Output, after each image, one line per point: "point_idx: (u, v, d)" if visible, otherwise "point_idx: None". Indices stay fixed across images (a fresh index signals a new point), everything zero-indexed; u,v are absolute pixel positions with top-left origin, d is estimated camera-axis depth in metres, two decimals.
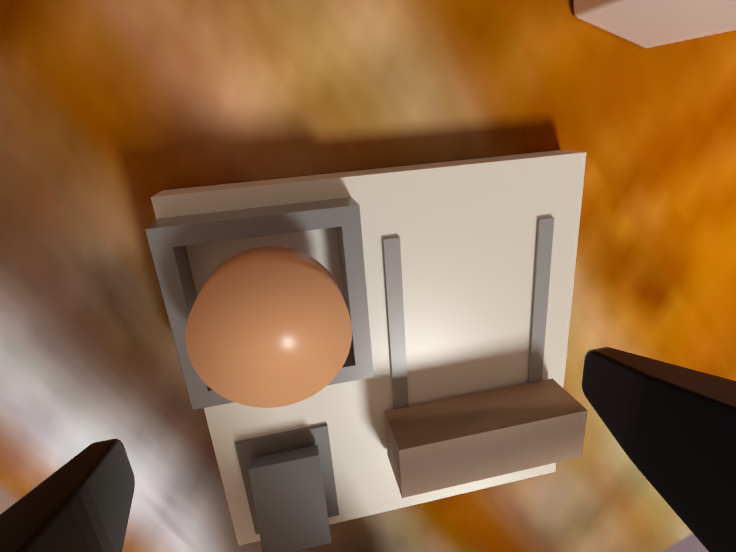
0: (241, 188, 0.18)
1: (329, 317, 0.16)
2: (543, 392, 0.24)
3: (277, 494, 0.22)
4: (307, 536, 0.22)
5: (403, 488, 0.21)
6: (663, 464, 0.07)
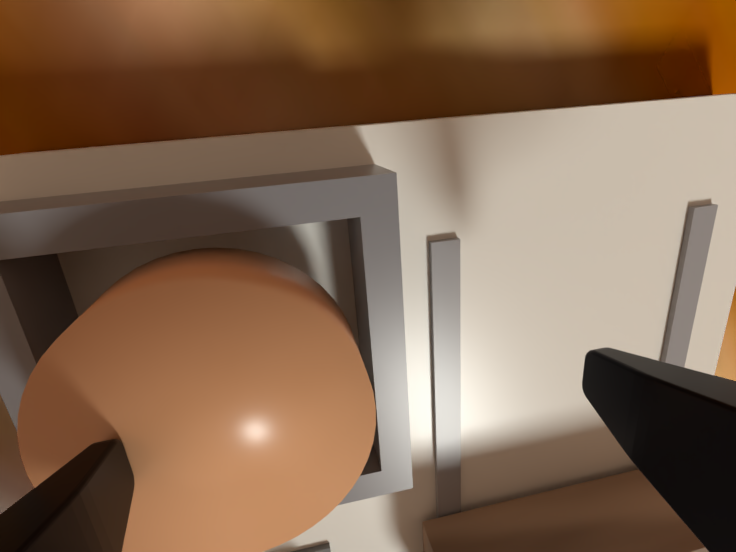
0: (163, 143, 0.09)
1: (331, 393, 0.08)
2: None
3: None
4: None
5: None
6: (663, 464, 0.07)
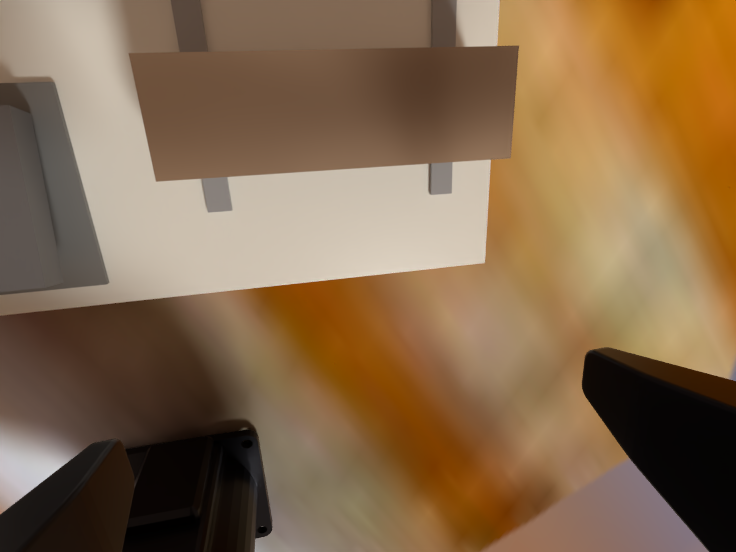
0: None
1: None
2: None
3: None
4: None
5: (155, 158, 0.11)
6: (663, 464, 0.07)
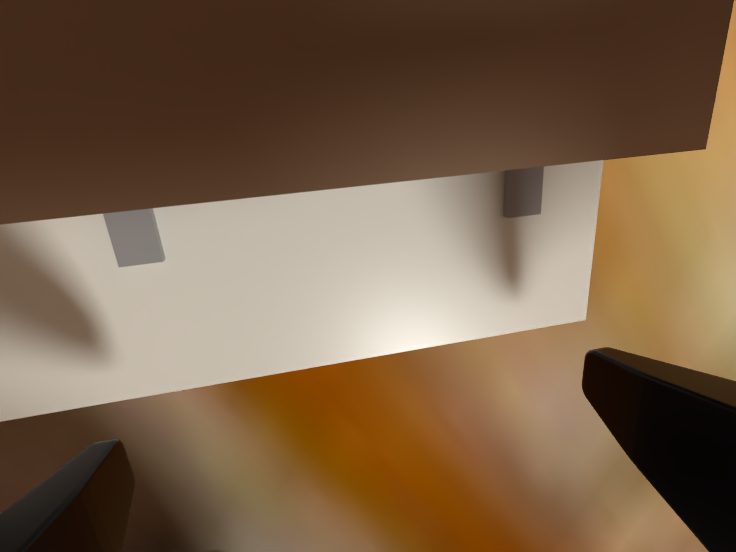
0: None
1: None
2: None
3: None
4: None
5: None
6: (663, 464, 0.07)
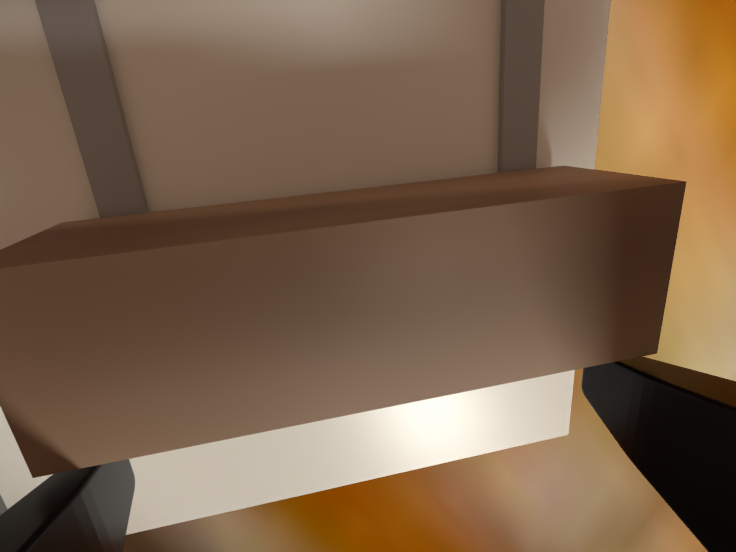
0: None
1: None
2: (539, 176, 0.08)
3: None
4: None
5: (26, 442, 0.06)
6: (663, 464, 0.07)
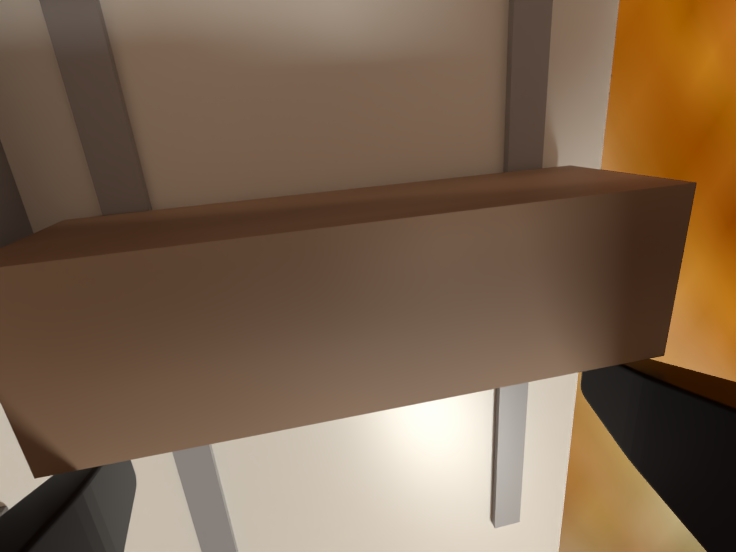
0: None
1: None
2: (546, 176, 0.08)
3: None
4: None
5: (28, 442, 0.06)
6: (661, 464, 0.07)
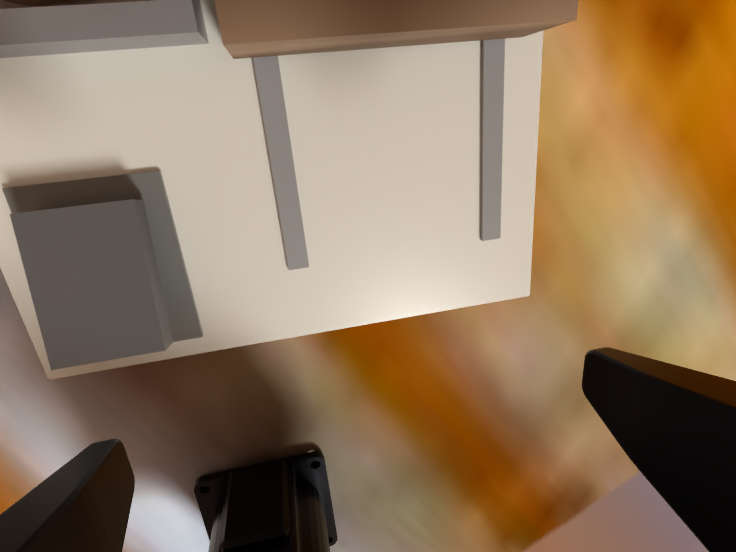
0: None
1: None
2: None
3: (65, 261, 0.13)
4: (123, 337, 0.14)
5: (222, 17, 0.11)
6: (663, 464, 0.07)
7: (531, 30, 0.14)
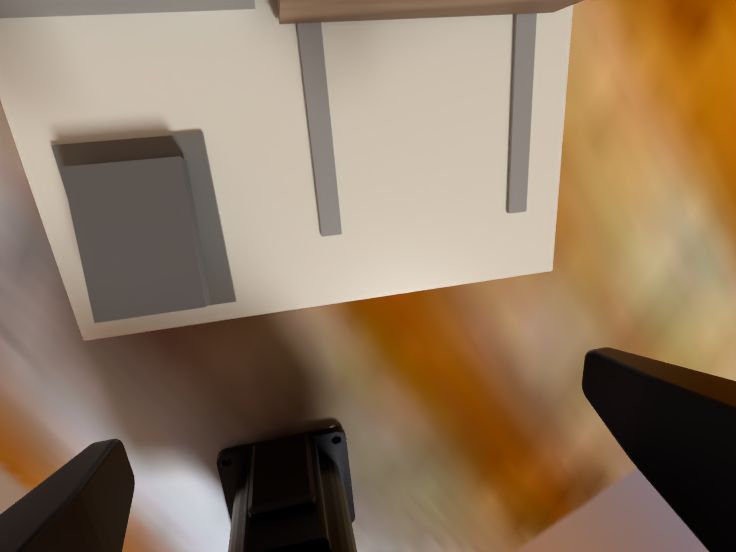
0: None
1: None
2: None
3: (112, 215, 0.14)
4: (165, 293, 0.14)
5: None
6: (663, 464, 0.07)
7: (565, 2, 0.14)
